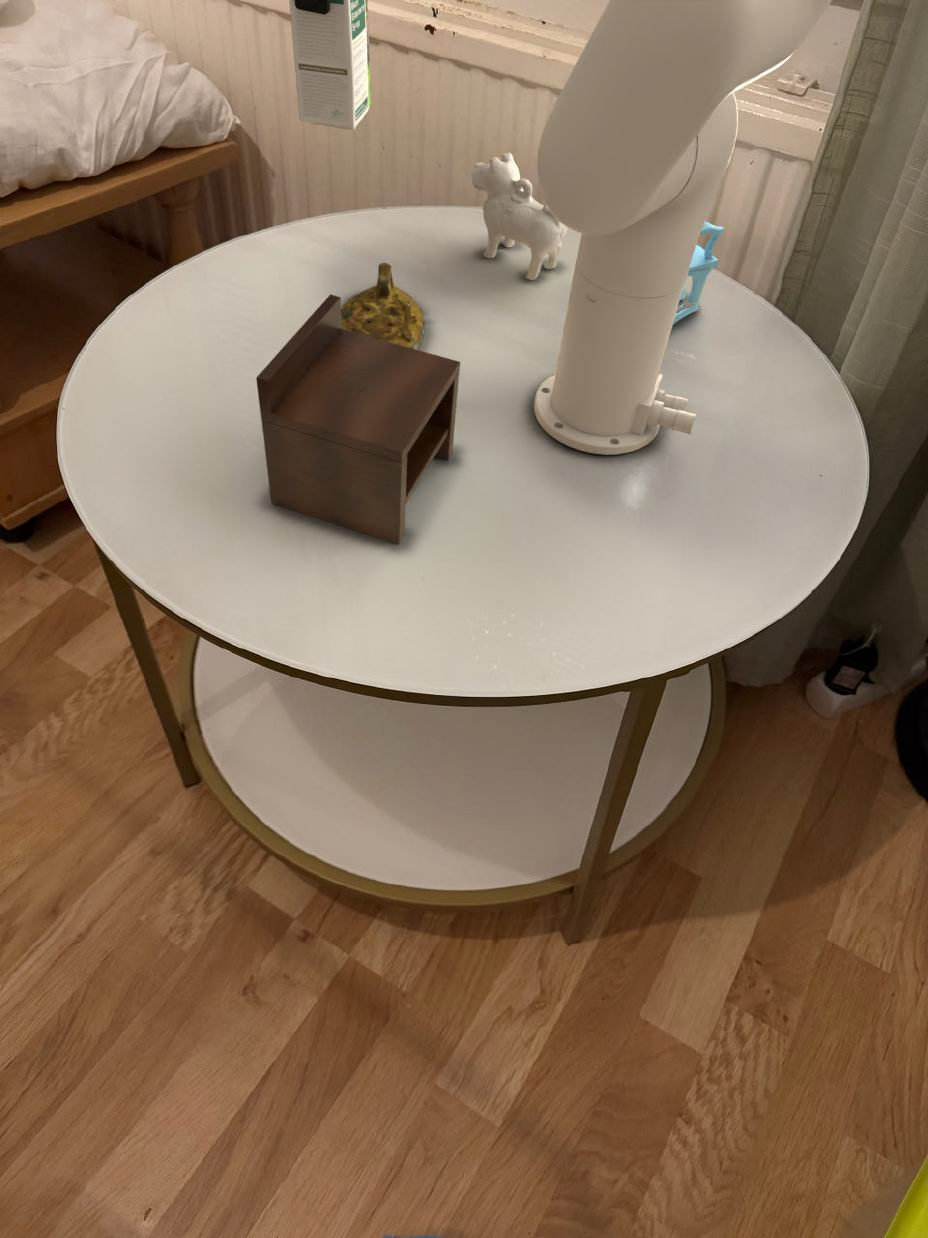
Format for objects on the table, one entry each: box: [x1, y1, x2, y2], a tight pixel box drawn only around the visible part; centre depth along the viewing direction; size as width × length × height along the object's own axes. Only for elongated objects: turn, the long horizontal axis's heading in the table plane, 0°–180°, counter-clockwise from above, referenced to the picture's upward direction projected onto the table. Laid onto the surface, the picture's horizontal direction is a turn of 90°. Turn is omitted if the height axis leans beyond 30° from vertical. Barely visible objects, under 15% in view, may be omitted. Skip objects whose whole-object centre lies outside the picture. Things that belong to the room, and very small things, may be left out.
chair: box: [673, 220, 725, 325], centre depth 98 cm, size 8×8×12 cm
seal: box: [341, 262, 426, 350], centre depth 95 cm, size 9×5×15 cm
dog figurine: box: [471, 152, 568, 281], centre depth 104 cm, size 5×13×11 cm, turn 50°
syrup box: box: [288, 0, 372, 131], centre depth 84 cm, size 6×6×14 cm
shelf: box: [255, 294, 461, 545], centre depth 76 cm, size 12×13×13 cm
